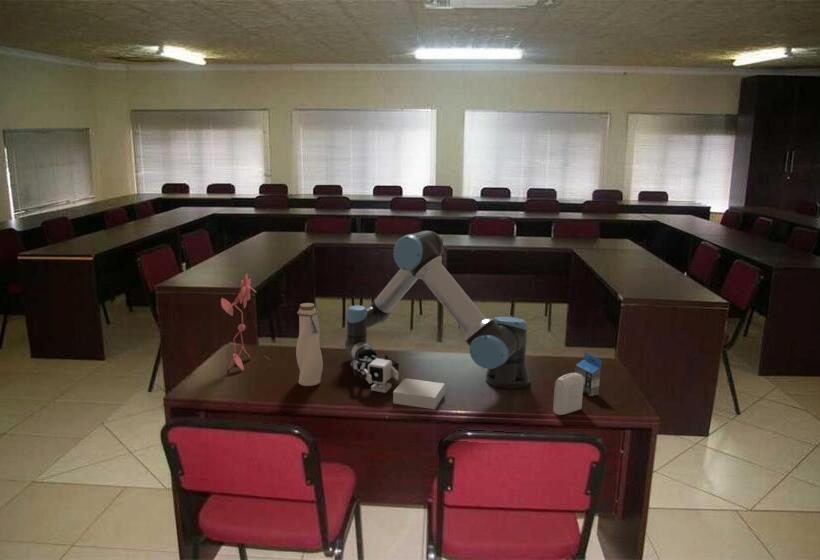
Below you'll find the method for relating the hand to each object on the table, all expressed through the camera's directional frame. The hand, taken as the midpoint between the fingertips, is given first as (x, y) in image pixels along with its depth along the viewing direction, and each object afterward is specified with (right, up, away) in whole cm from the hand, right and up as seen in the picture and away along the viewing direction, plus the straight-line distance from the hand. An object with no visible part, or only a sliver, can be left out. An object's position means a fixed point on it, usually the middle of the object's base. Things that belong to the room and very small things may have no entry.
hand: (384, 377), depth 204 cm
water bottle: (-26, -3, +11) cm, 29 cm away
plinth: (+12, -7, -2) cm, 14 cm away
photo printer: (+59, -9, -9) cm, 60 cm away
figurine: (-51, 0, +26) cm, 58 cm away
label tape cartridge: (+69, -6, +6) cm, 69 cm away
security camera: (-1, -5, +6) cm, 8 cm away
